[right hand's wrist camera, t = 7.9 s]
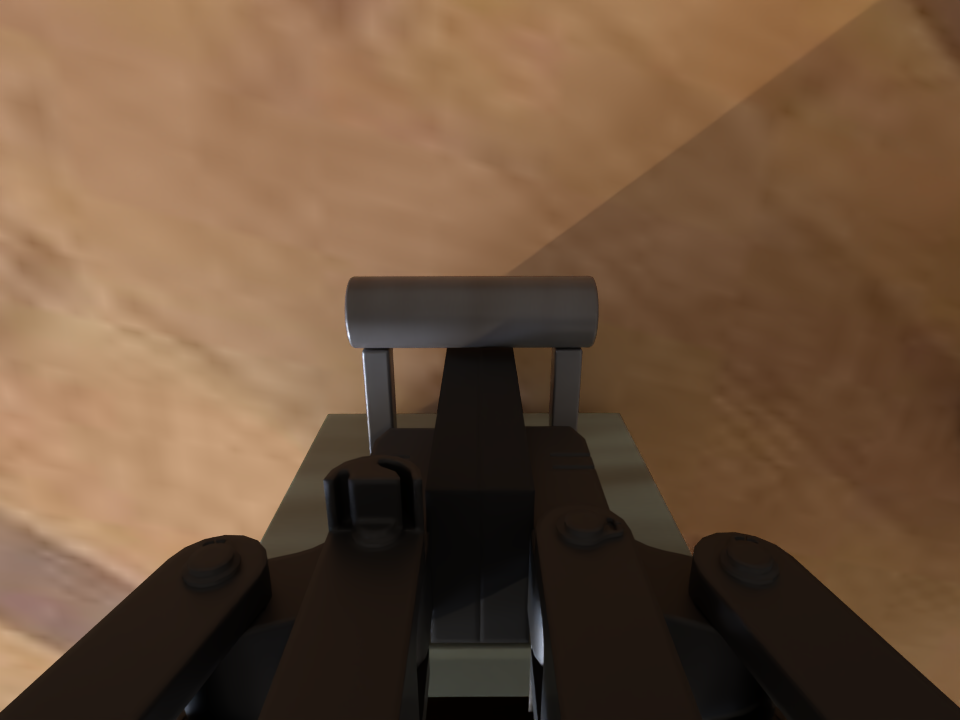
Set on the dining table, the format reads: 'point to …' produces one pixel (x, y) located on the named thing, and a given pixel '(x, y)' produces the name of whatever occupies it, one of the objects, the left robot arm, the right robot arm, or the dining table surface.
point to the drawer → (434, 324)
